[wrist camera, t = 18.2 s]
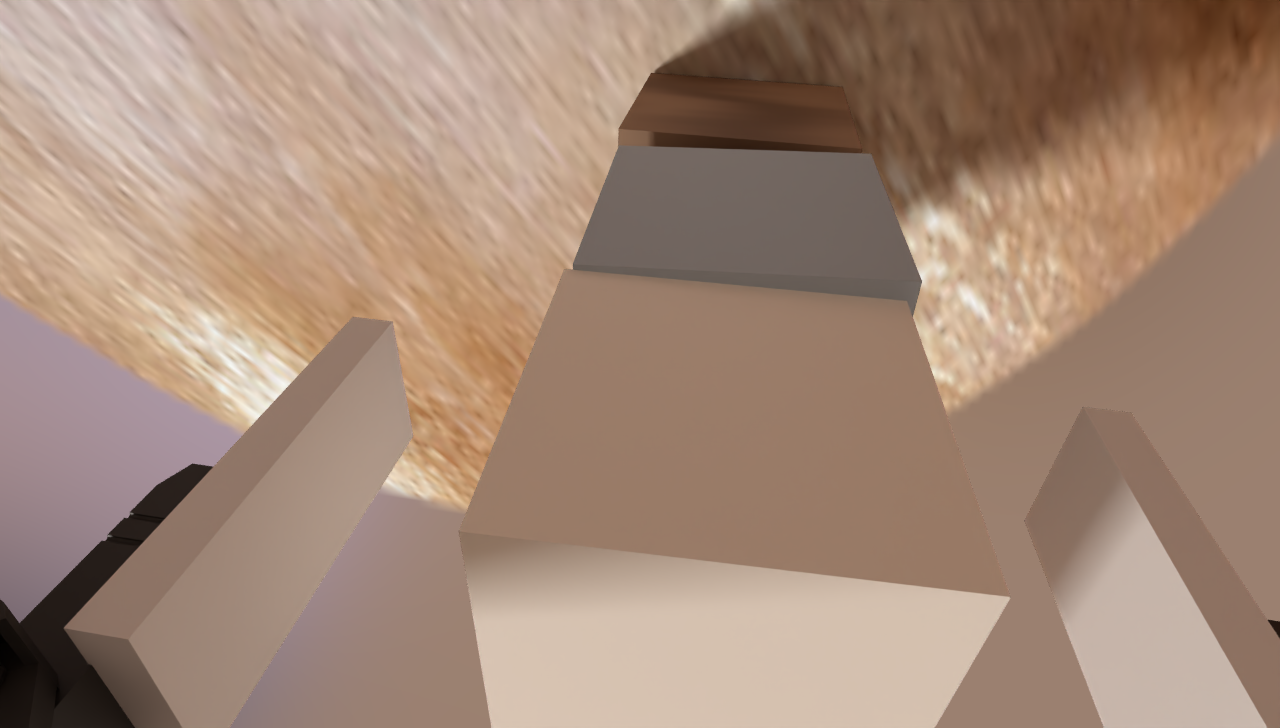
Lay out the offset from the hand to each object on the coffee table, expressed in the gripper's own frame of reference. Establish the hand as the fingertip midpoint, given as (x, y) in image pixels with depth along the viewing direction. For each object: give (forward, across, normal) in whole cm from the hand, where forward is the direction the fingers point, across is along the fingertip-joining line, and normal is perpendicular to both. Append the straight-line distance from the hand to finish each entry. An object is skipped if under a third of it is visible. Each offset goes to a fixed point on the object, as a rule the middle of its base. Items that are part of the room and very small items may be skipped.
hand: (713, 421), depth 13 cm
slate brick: (+7, 0, 0) cm, 7 cm away
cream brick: (+1, 0, -1) cm, 1 cm away
